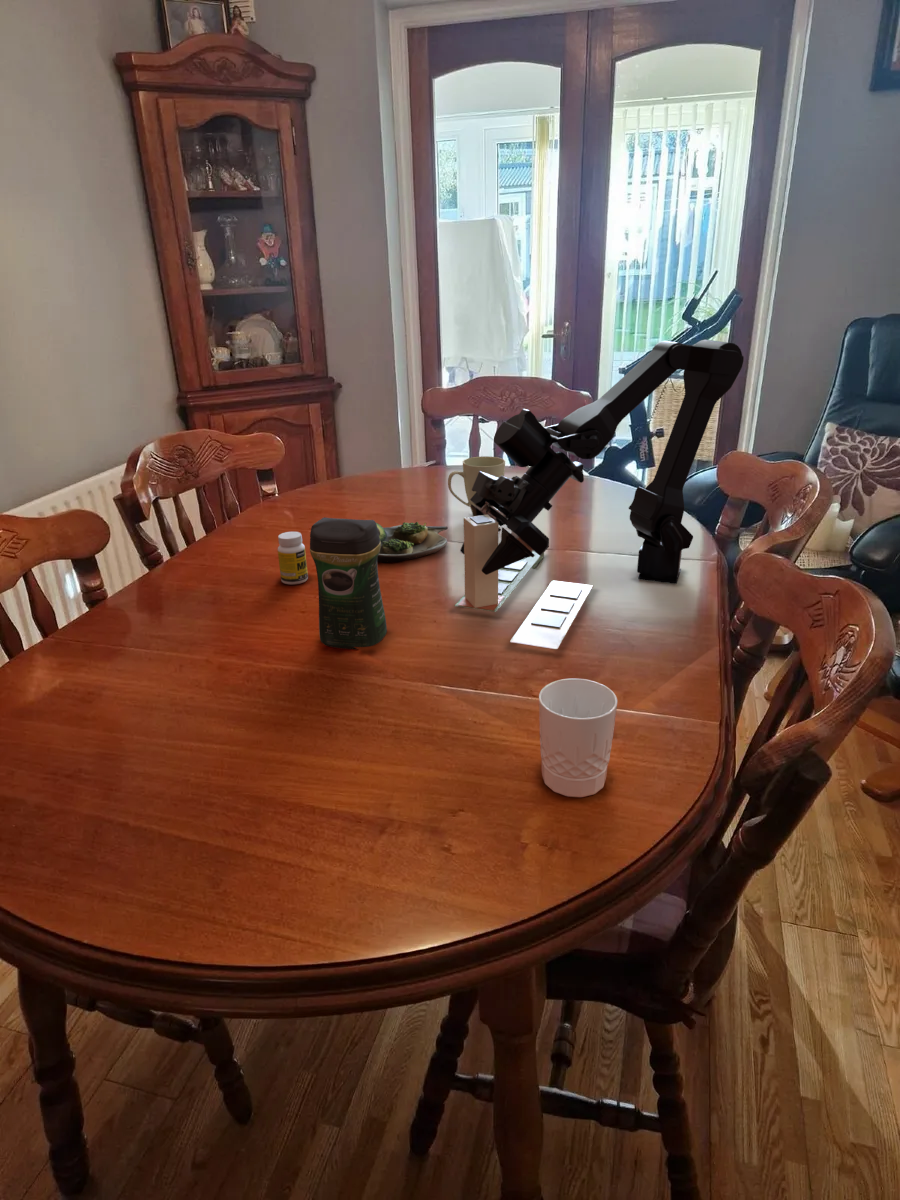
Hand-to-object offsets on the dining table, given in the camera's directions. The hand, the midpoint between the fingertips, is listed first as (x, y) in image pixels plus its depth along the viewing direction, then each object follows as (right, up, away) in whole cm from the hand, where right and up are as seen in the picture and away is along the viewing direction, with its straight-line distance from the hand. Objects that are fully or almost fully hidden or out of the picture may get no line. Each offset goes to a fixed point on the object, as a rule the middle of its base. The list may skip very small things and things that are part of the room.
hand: (472, 562), depth 117 cm
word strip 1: (+6, -3, +13) cm, 14 cm away
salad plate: (-14, +4, +30) cm, 33 cm away
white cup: (+10, -25, -37) cm, 45 cm away
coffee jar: (-18, -12, -6) cm, 22 cm away
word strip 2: (+13, -8, -1) cm, 15 cm away
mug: (+3, +12, +46) cm, 48 cm away
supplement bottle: (-31, -2, +16) cm, 35 cm away
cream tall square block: (+1, -6, +3) cm, 7 cm away
